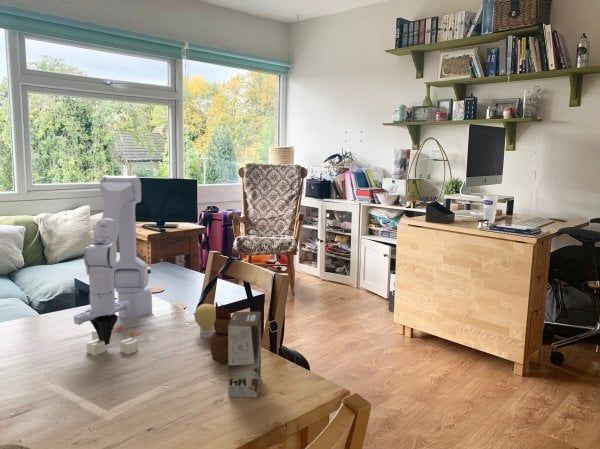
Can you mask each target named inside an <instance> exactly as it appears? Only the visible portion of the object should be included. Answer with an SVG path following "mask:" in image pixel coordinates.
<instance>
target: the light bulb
mask: <svg viewBox="0 0 600 449" xmlns="http://www.w3.org/2000/svg"><path fill="white" fill-rule="evenodd" d="M215 319H216V305H214V304H211V303H203V304H200V305H199V306H197V308H196V309H195V311H194V321H195V322H196V324H197V325H198V326H199V337H200V338H203V339H210V338H211V335H212V334H213V332H215V329H214V321H215Z"/></svg>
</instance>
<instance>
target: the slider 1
mask: <svg viewBox="0 0 600 449" xmlns="http://www.w3.org/2000/svg"><path fill="white" fill-rule="evenodd" d="M91 333H92V334H91V338H92V339H91V341H93V340H96V339H99V337H98V334H97V332H96V330H95V329H93V330H91Z"/></svg>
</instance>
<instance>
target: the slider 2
mask: <svg viewBox="0 0 600 449" xmlns="http://www.w3.org/2000/svg"><path fill="white" fill-rule="evenodd" d="M119 343H120V344H119V346H120V352H121V353H123V354H126V355H130V354H133V353H135V352H137V351H139V340H137V339H135V338H133V337H129V338H127V339H123V340H121V341H119Z"/></svg>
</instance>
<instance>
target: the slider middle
mask: <svg viewBox="0 0 600 449" xmlns="http://www.w3.org/2000/svg"><path fill="white" fill-rule="evenodd" d="M86 352H87V353H88V354H89V355H92V356H97V355H99V354H103V353H106V345H105V342H104V341H102V340H99V339H96V340H90V341H87V342H86Z"/></svg>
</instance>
